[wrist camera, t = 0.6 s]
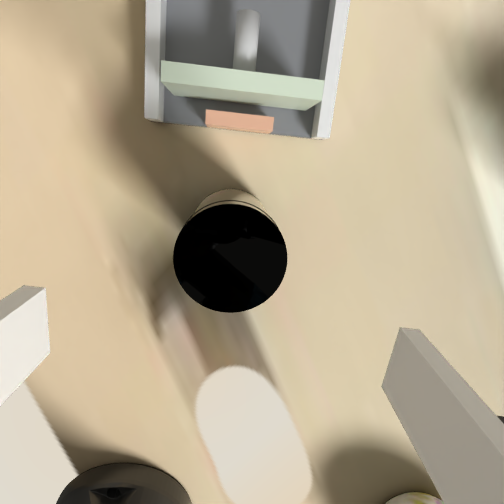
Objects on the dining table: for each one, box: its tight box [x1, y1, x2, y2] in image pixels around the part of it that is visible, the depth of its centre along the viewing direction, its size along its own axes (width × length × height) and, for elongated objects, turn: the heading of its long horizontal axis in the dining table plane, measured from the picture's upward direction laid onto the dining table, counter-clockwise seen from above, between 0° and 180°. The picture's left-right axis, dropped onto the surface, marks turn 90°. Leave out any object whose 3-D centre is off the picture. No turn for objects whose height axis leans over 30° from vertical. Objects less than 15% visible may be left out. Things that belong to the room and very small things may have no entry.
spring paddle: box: [161, 9, 325, 111], centre depth 23 cm, size 5×10×5 cm, turn 84°
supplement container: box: [173, 189, 287, 313], centre depth 25 cm, size 7×7×10 cm
